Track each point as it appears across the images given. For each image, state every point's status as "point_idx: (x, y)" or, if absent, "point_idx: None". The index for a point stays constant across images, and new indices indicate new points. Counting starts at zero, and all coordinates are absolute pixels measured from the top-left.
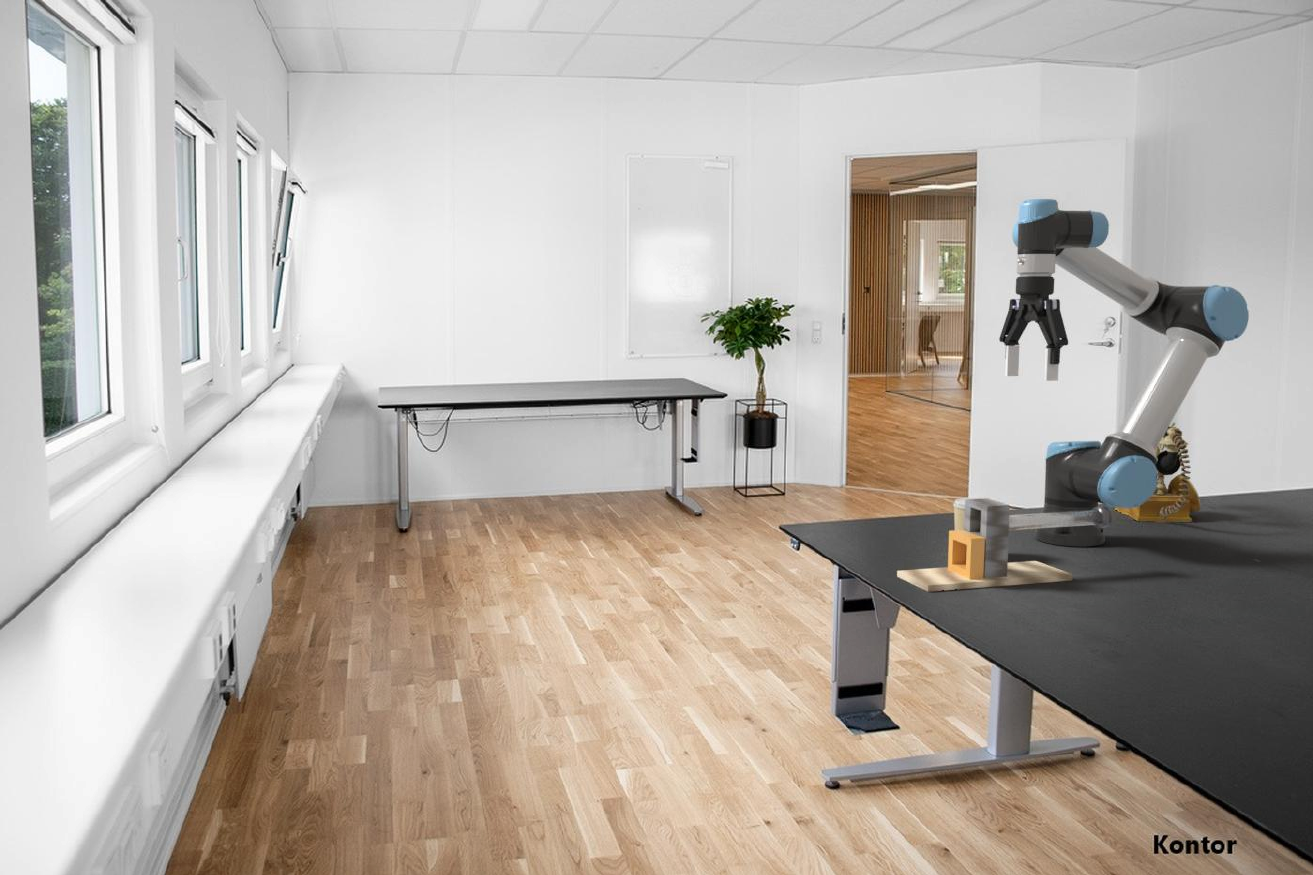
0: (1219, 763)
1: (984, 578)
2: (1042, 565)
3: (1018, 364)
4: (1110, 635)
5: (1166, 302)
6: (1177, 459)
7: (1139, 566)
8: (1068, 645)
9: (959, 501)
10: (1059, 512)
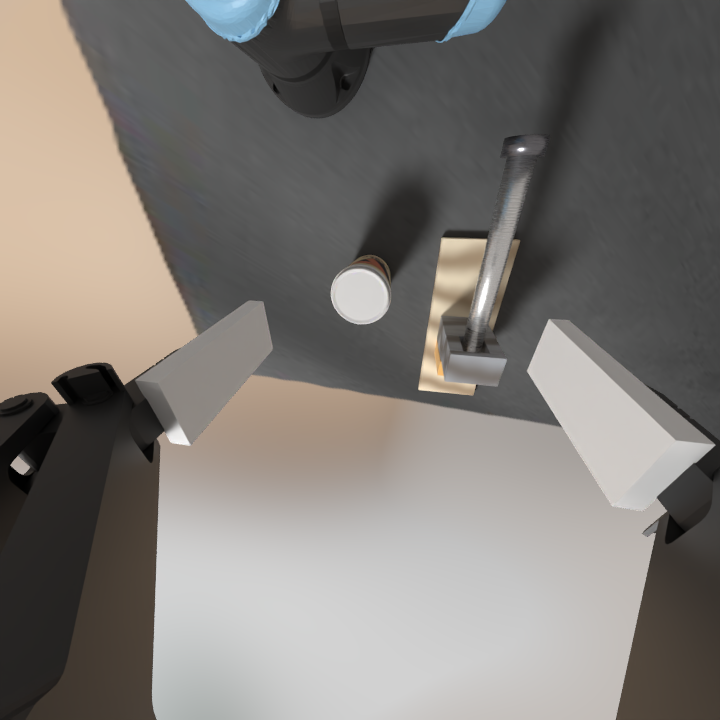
0: None
1: None
2: (465, 246)
3: (235, 324)
4: (680, 346)
5: None
6: None
7: (519, 50)
8: (662, 391)
9: (350, 316)
10: (502, 248)
